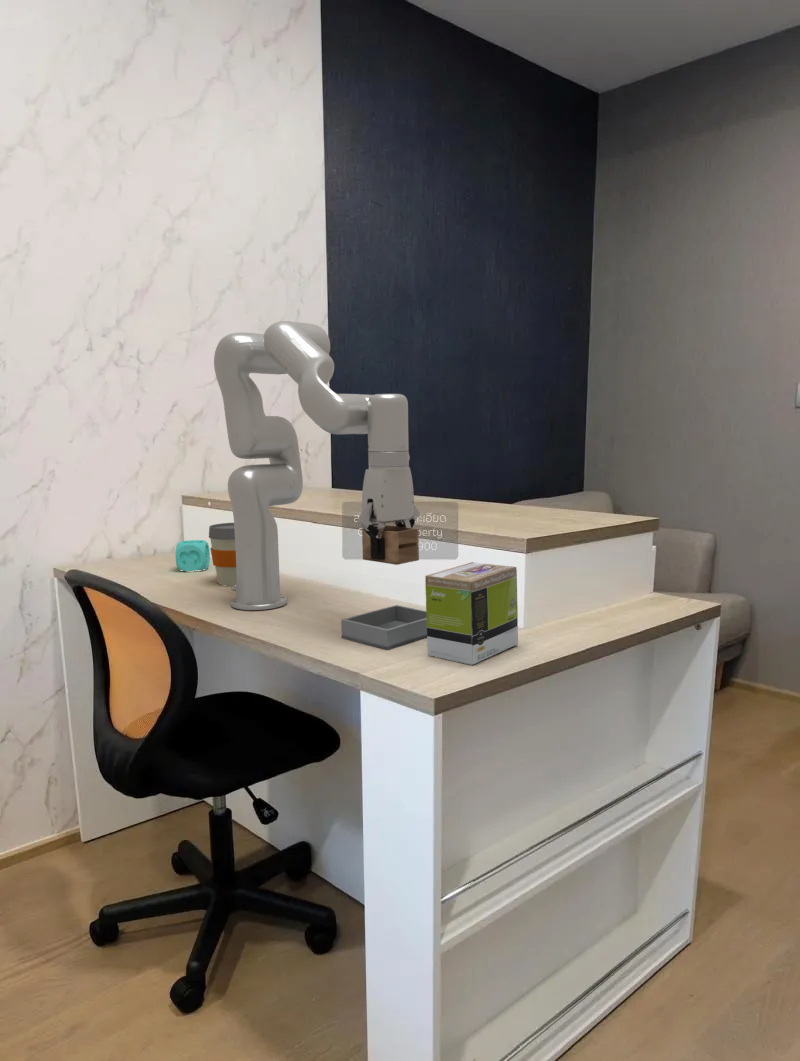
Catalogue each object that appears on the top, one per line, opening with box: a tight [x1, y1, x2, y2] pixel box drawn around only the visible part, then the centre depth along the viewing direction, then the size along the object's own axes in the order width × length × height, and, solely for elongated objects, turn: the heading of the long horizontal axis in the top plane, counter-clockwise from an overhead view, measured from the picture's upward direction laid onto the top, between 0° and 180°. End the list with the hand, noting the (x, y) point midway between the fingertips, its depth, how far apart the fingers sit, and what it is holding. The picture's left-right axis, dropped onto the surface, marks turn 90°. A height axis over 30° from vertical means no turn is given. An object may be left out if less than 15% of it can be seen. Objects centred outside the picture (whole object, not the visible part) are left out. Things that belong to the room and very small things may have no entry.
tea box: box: [424, 561, 519, 666], centre depth 136 cm, size 15×10×15 cm
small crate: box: [361, 524, 420, 566], centre depth 145 cm, size 9×6×6 cm, turn 47°
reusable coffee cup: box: [208, 522, 237, 587], centre depth 199 cm, size 13×13×15 cm
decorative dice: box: [175, 539, 211, 571], centre depth 218 cm, size 8×8×8 cm
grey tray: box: [340, 604, 427, 651], centre depth 147 cm, size 12×15×4 cm
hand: (390, 555), depth 146 cm, fingers closed on small crate, 6 cm apart
